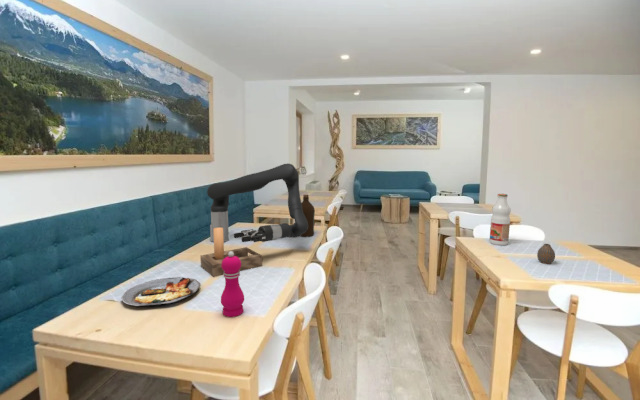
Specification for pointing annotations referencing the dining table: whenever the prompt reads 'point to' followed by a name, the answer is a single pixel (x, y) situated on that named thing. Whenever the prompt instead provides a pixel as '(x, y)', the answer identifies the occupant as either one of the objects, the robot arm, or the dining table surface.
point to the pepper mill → (232, 287)
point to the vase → (546, 254)
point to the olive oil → (308, 216)
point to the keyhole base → (215, 265)
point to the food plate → (161, 291)
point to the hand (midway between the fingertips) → (237, 237)
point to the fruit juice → (500, 221)
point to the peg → (218, 243)
